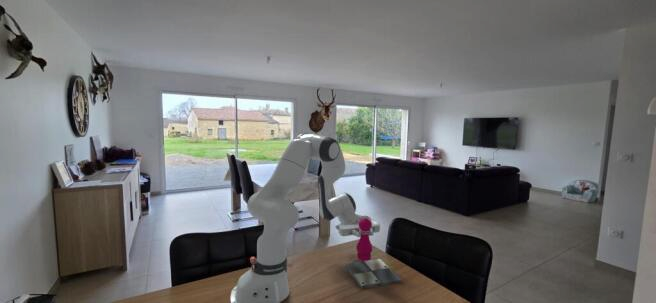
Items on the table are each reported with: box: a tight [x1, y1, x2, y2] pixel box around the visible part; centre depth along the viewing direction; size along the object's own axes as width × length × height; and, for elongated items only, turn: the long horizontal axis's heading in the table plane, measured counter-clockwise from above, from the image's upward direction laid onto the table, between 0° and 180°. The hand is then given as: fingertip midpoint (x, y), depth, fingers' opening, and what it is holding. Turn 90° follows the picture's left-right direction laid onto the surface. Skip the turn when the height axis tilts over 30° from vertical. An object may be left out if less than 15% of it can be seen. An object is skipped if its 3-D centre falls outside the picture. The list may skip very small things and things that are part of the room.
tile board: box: [344, 258, 402, 290], centre depth 124 cm, size 19×19×1 cm
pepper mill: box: [356, 215, 373, 261], centre depth 125 cm, size 7×7×20 cm
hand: (365, 234), depth 124 cm, fingers closed on pepper mill, 5 cm apart
